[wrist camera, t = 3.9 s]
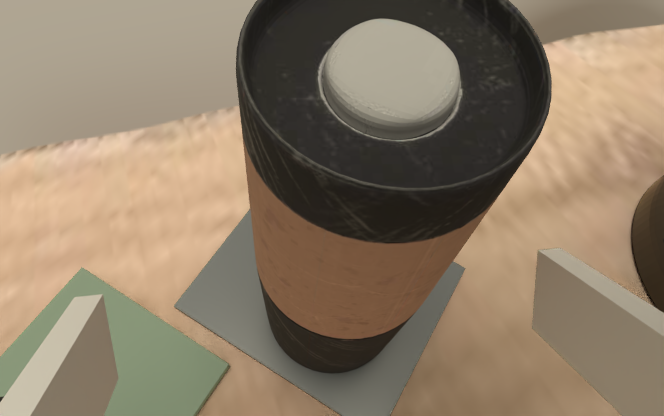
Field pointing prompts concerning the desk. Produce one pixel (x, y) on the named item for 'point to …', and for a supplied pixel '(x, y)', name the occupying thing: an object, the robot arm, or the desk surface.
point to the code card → (259, 343)
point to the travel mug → (376, 155)
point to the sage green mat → (129, 355)
